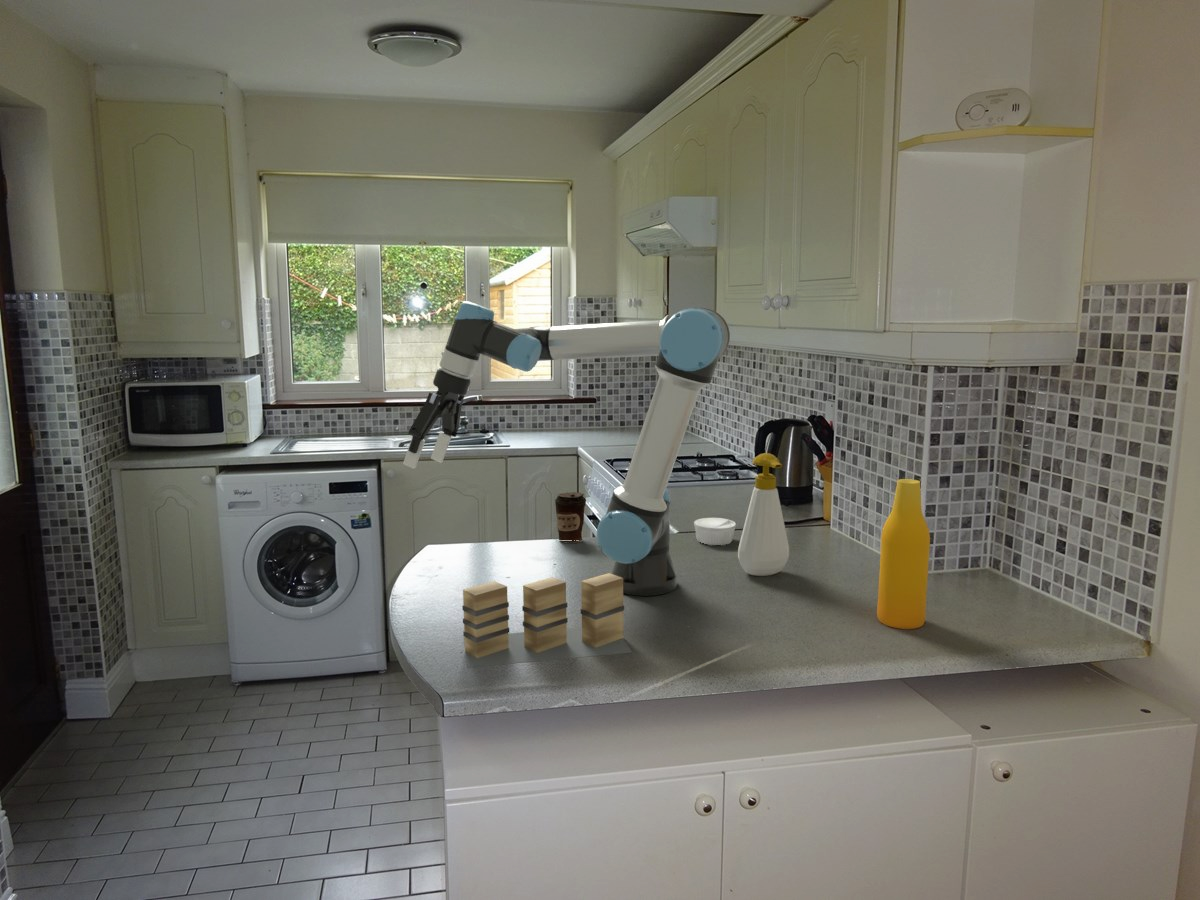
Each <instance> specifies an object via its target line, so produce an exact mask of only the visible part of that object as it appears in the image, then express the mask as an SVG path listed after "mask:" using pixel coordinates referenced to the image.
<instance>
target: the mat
mask: <svg viewBox="0 0 1200 900" xmlns="http://www.w3.org/2000/svg"><path fill="white" fill-rule="evenodd" d="M508 639H509V648H507V649H504V650H501V651H498V652H495V653H492V654H489V655H486V656H483V657H480V658H476V657H474V656H472V655H470V654H468V653H467V652H465V651H464V652H465V659H466V667H467V668H476V667H488V666H498V665H499V666H500V665H510V664H521V663H532V662H544V661H553V660H565V659H566V660H567V659H574V658H575V659H577V658H586V657H587V658H588V657H599V656H608V655H619V654H630V653H632V650H631V649H630V647H629V645H628V643H627V642H626V640H625V639H624V637H623V638H621V639H619V640H616V641H613V642H610V643H608V644H605V645H602V646H599V647H597V648H596V647H593V646H591V645H589V644H587V643H584V642H582V626H581V627H569V628H567V643H565V644H562V645H559V646H556V647H553V648H550V649H547V650H544V651H542V652H539V653H537V652H535V651H532V650H530V649H528V648H526V647H524V631H521V632H509V633H508ZM463 643H464V645H463V646H464V647H465V637H464V636H463Z"/></svg>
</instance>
